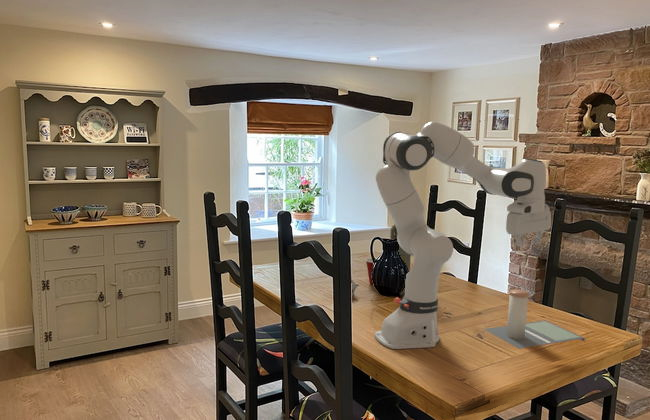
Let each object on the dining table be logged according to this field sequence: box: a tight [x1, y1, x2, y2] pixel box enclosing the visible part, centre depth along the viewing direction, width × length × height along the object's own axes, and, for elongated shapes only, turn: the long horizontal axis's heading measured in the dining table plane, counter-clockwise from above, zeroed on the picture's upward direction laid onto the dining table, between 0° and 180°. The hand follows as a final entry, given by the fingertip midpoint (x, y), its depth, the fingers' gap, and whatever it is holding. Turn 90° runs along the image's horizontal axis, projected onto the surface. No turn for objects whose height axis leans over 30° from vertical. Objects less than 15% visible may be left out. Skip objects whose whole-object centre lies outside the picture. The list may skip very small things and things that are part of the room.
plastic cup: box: [365, 257, 373, 286], centre depth 241 cm, size 11×11×12 cm
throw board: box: [483, 319, 585, 350], centre depth 183 cm, size 29×18×1 cm, turn 112°
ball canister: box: [506, 289, 530, 339], centre depth 179 cm, size 6×6×16 cm
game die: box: [350, 276, 360, 296], centre depth 223 cm, size 9×8×10 cm
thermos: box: [389, 223, 412, 296], centre depth 229 cm, size 9×12×35 cm
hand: (528, 244), depth 180 cm, fingers open, 8 cm apart
